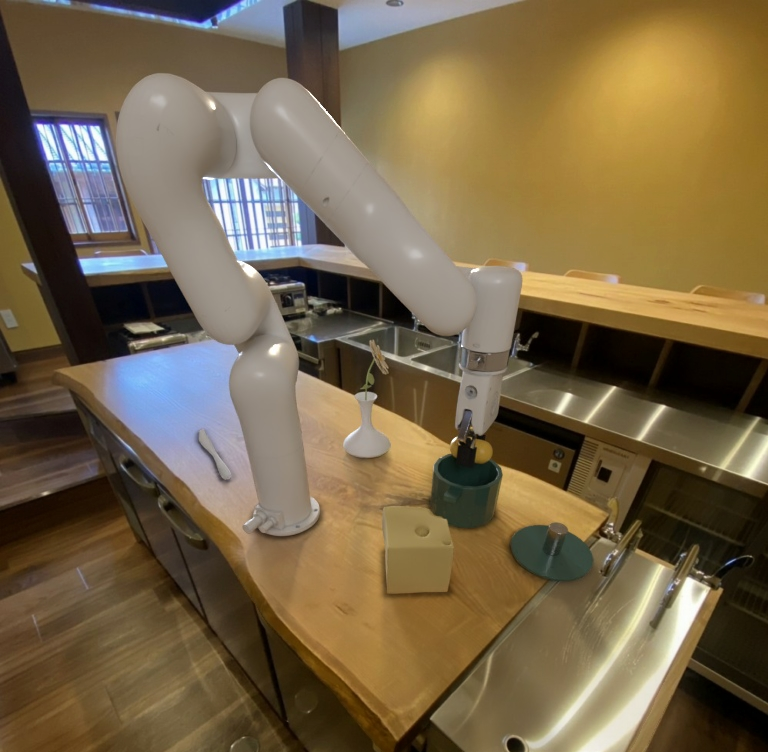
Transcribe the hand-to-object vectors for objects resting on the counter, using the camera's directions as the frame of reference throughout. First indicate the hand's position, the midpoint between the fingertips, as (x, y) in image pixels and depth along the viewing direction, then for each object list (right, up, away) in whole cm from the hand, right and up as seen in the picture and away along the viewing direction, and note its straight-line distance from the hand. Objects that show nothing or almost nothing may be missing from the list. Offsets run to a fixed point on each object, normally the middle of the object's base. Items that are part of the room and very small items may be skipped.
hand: (469, 458), depth 77 cm
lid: (+13, -17, -4) cm, 22 cm away
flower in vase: (-19, +5, +25) cm, 33 cm away
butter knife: (-56, +4, +23) cm, 61 cm away
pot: (0, -9, +7) cm, 11 cm away
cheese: (-11, -20, -7) cm, 24 cm away
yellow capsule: (0, 0, 0) cm, 0 cm away
